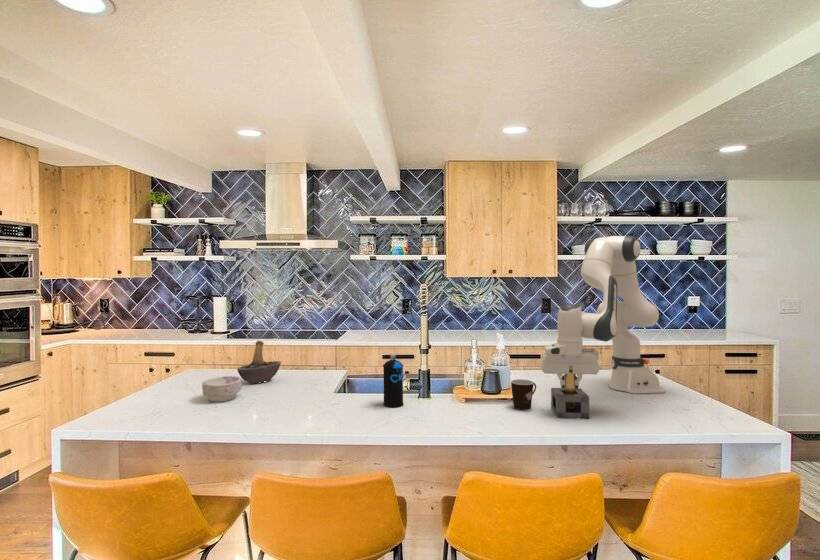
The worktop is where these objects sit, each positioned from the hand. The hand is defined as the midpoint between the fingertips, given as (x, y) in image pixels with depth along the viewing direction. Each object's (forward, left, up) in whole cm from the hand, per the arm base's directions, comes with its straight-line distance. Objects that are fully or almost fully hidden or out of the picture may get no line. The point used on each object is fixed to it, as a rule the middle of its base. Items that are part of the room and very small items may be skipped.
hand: (569, 385), depth 166 cm
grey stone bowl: (+140, -7, -11) cm, 141 cm away
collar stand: (0, 0, -10) cm, 10 cm away
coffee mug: (+15, -6, -11) cm, 19 cm away
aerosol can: (+67, -5, -11) cm, 68 cm away
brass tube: (0, 0, -8) cm, 8 cm away
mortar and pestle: (+136, -34, -11) cm, 141 cm away
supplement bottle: (-5, -20, -11) cm, 23 cm away
